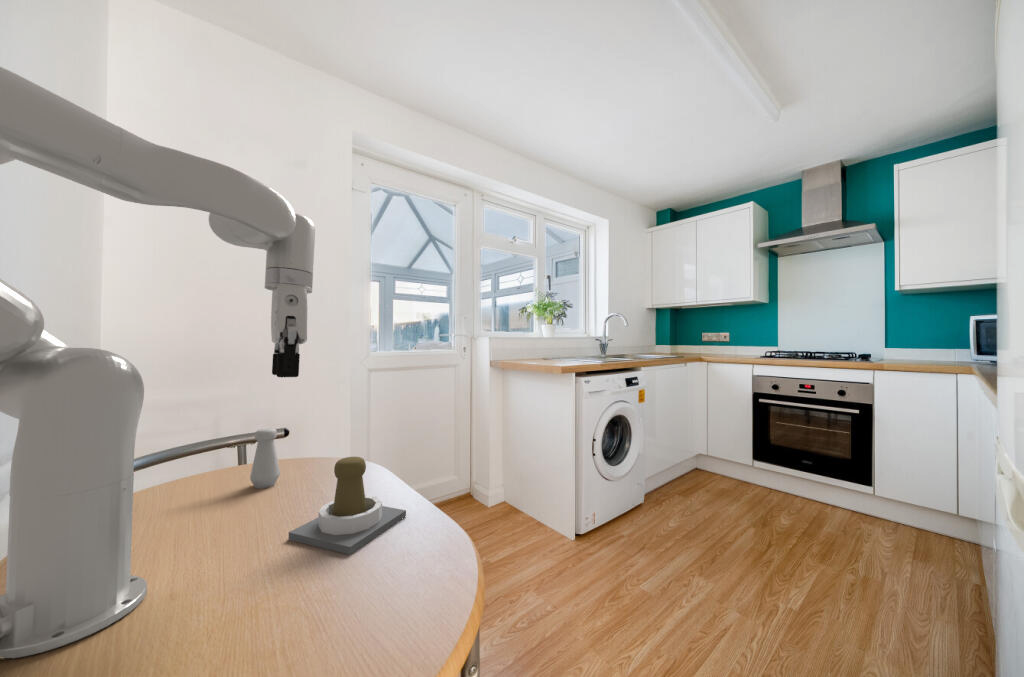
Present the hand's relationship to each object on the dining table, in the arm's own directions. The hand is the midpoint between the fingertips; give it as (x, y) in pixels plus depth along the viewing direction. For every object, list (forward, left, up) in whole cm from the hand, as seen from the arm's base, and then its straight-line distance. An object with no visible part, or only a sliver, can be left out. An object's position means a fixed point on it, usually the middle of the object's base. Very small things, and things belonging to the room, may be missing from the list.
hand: (284, 375), depth 67 cm
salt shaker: (+13, +22, -27) cm, 37 cm away
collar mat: (+4, -12, -27) cm, 30 cm away
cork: (+4, -12, -26) cm, 29 cm away
